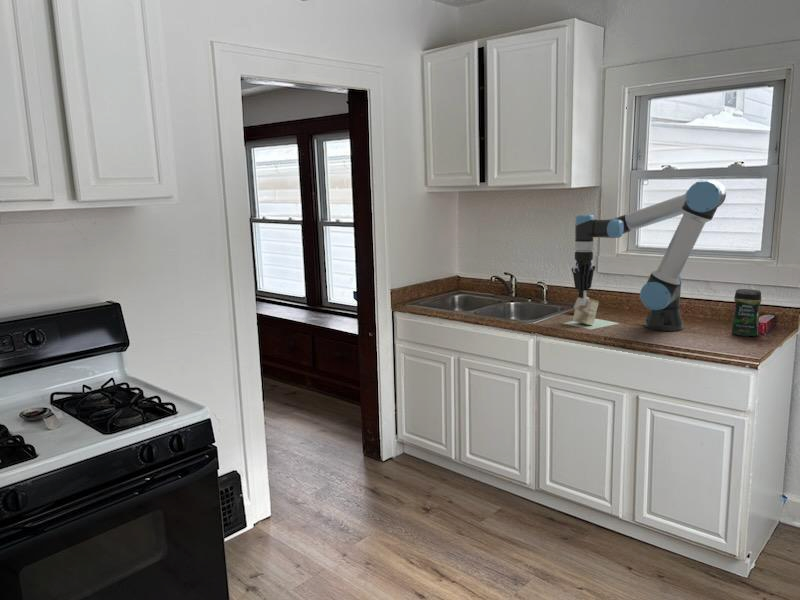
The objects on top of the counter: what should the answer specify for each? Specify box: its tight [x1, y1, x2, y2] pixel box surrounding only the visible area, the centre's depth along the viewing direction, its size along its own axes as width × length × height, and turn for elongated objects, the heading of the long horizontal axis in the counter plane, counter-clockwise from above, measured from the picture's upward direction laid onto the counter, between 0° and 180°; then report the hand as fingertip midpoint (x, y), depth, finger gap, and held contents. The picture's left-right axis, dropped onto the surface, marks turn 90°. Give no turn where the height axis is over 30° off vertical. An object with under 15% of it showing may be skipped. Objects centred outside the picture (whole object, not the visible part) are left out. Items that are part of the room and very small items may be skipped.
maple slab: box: [572, 296, 600, 326], centre depth 287 cm, size 8×4×11 cm, turn 34°
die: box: [573, 296, 590, 310], centre depth 310 cm, size 8×9×10 cm
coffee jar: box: [731, 288, 763, 337], centre depth 263 cm, size 10×8×19 cm
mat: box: [562, 318, 620, 330], centre depth 290 cm, size 16×19×1 cm
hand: (582, 305), depth 285 cm, fingers closed
